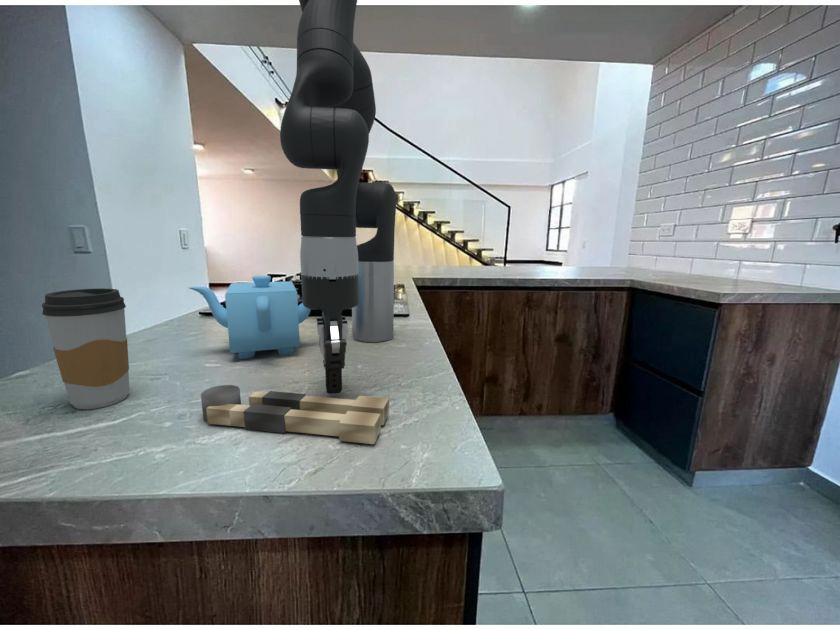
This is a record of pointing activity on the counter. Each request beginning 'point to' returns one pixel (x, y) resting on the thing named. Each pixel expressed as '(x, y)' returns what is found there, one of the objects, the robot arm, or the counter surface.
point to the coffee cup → (90, 344)
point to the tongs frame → (286, 417)
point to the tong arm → (323, 403)
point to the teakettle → (259, 315)
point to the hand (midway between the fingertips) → (334, 391)
